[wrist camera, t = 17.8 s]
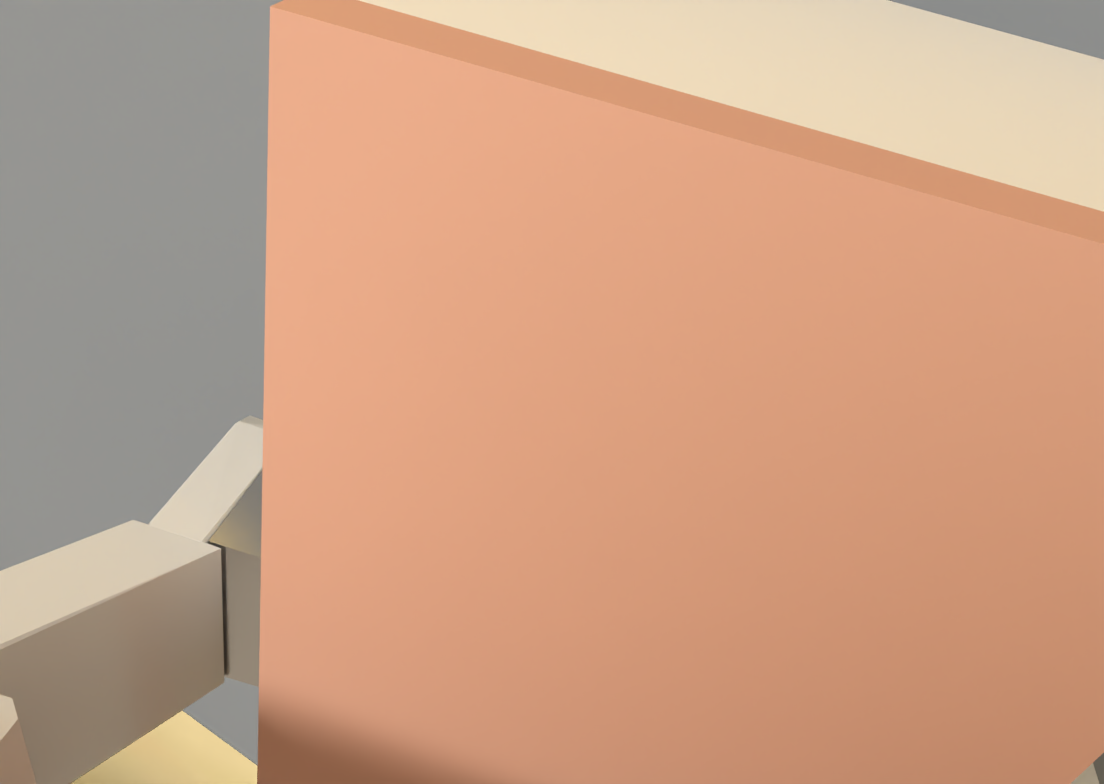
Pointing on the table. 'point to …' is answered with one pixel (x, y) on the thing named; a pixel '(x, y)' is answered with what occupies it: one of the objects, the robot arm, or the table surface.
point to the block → (680, 396)
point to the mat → (170, 256)
